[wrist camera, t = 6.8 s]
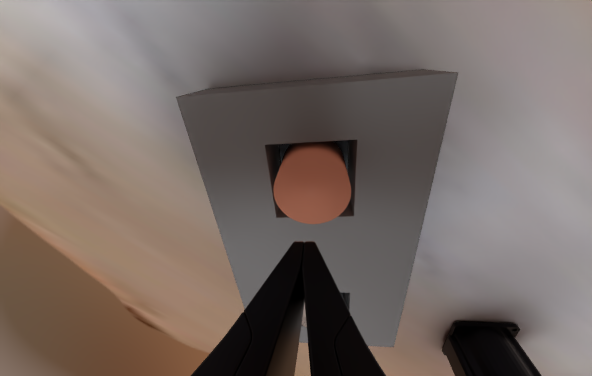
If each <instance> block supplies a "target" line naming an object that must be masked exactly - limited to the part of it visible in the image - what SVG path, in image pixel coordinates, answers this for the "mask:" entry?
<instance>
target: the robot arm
mask: <svg viewBox="0 0 592 376" xmlns="http://www.w3.org/2000/svg"><path fill="white" fill-rule="evenodd" d="M304 303H305V312H306V324H307V336H308V347H309V359H310V370H311V376H386V375H385V374H384V372H383V370H382V369H381V367H380V366H379V364H378V363H377V361H376V359H375V358H374V356H373V354H372V353H371V351H370V349H369V348H368V346H367V344H366V342H365V341H364V339H363V337H362V335H361V333H360V331H359V329H358V327H357V325H356V323H355V321H354V319H353V317H352V316H351V314H350V311H349V309H348V307H347V305H346V303H345V301H344V299H343V297H342V295H341V293H340V291H339V289H338V287H337V285H336V283H335V281H334V279H333V277H332V275H331V273H330V271H329V269H328V267H327V265H326V263H325V261H324V259H323V257H322V255H321V253H320V251H319V248H318V246H317V244H316V243H315V242H314V241H306V242H305V243H304V242H303V241H295V242H293V243H292V245H291V246H290V247H289V249H288V250H287V252H286V253H285V254H284V256H283V257H282V258H281V260H280V261H279V263H278V264H277V265H276V267H275V268H274V270H273V271H272V272H271V274H270V275H269V277H268V278H267V279H266V281H265V282H264V283H263V285H262V286H261V288H260V289H259V290H258V292H257V293H256V295H255V296H254V297H253V299H252V300H251V301H250V303H249V304H248V306H247V307H246V308H245V310H244V312H243V313H242V314H241V315H240V316H239V318H238V319H237V321H236V322H235V323H234V325H233V326H232V327H231V329H230V330H229V331H228V333H227V334H226V335H225V337H224V338H223V339H222V340H221V341H220V342H219V344H218V345H217V346H216V347H215V348H214V350H213V351H212V352H211V353H210V354H209V356H208V357H207V358H206V359H205V360H204V361H203V362H202V363H201V365H200V366H199V367H198V368H197V369H196V370H195V371H194V373H193V374H192V375H191V376H294V373H295V366H296V359H297V352H298V345H299V338H300V331H301V324H302V317H303V310H304ZM519 331H520V328H519V327H518V326H517V324H508V323H481V322H455V323H454V324H453V326H452V328H451V330H450V333H449V335H448V337H447V339H446V342H445V344H444V346H443V349H442V351H443V354H444V355H446V356H447V358H448V360H449V363H450V365H451V367H452V370H453V372H454V374H455V376H541V374H540V373H539V371H538V370H537V368H536V367H535V366H534V364H533V363H532V361H531V360H530V359H529V357H528V356H527V354H526V353H525V351H524V350H523V349H522V347H521V346H520V344H519V343H518V342H517V340H516V339H515V336H516V335H517V334H518V332H519Z"/></svg>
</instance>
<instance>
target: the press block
mask: <svg viewBox="0 0 592 376" xmlns="http://www.w3.org/2000/svg"><path fill="white" fill-rule="evenodd" d="M457 76H458V73H457V72H446V71H435V70H424V69H423V70H412V71H401V72H389V73H378V74H367V75H356V76H345V77H334V78H323V79H312V80H301V81H290V82H278V83H267V84H256V85H245V86H234V87H223V88H212V89H205V90H202V91H198V92H194V93H190V94H186V95H182V96H179V97H176V99H177V102H178V105H179V108H180V111H181V114H182V117H183V120H184V123H185V126H186V129H187V132H188V136H189V139H190V142H191V145H192V148H193V151H194V154H195V157H196V160H197V163H198V166H199V169H200V172H201V176H202V179H203V182H204V185H205V188H206V191H207V194H208V197H209V200H210V203H211V206H212V209H213V213H214V216H215V219H216V222H217V225H218V228H219V231H220V234H221V237H222V240H223V243H224V246H225V250H226V253H227V256H228V259H229V262H230V265H231V268H232V271H233V274H234V277H235V280H236V283H237V287H238V290H239V293H240V296H241V299H242V302H243V305H244V308H246V307H247V306H248V304H249V303H250V301H251V300H252V299H253V297H254V296H255V295H256V293H257V292H258V290H259V289H260V288H261V286H262V285H263V283H264V282H265V281H266V279H267V278H268V277H269V275H270V274H271V272H272V271H273V270H274V268H275V267H276V265H277V264H278V263H279V261H280V260H281V258H282V257H283V256H284V254H285V253H286V252H287V250H288V249H289V247H290V246H291V245H292V243H293V242H295V241H303V242H304V243H305V242H306V241H314V242H315V243H316V244H317V246H318V248H319V251H320V253H321V255H322V257H323V259H324V261H325V263H326V265H327V267H328V269H329V271H330V273H331V275H332V277H333V279H334V281H335V283H336V285H337V287H338V289H339V291H340V292H342V293H343V298H344V301H345V303H346V305H347V307H348V309H349V311H350V314H351V316H352V317H353V319H354V321H355V323H356V325H357V327H358V329H359V331H360V333H361V335H362V337H363V339H364V341H365V342H366V344H367V346H382V347H394V344H395V340H396V335H397V331H398V327H399V323H400V318H401V314H402V310H403V306H404V301H405V297H406V293H407V289H408V284H409V280H410V276H411V272H412V267H413V263H414V259H415V255H416V250H417V246H418V242H419V237H420V233H421V229H422V225H423V220H424V216H425V212H426V208H427V203H428V199H429V195H430V191H431V186H432V182H433V178H434V174H435V169H436V165H437V161H438V157H439V152H440V148H441V144H442V140H443V135H444V131H445V127H446V123H447V118H448V114H449V110H450V106H451V101H452V97H453V93H454V88H455V84H456V80H457ZM340 140H349V142H348V177H349V181H350V185H351V198H350V201H349V203H348V206H347V207H346V209H345V210H344V211H343V212H342V213H341V214H340V215H339V216H338V217H336V218H334V219H333V220H331V221H328V222H325V223H320V224H305V223H301V222H298V221H295V220H293V219H291V218H290V217H288V216H287V215H286V214H284V213H283V212H282V211H281V209H280V208H279V207H278V205H277V203H276V201H275V198H274V192H273V189H274V182H275V179H276V177H277V174H278V171H279V168H280V166H281V160H280V153H279V145H278V144H287V143H305V142H323V141H340ZM299 342H303V343H308V336H307V328H306V327H304V326H303V325H301V331H300V338H299Z"/></svg>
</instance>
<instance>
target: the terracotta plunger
mask: <svg viewBox="0 0 592 376" xmlns="http://www.w3.org/2000/svg"><path fill="white" fill-rule="evenodd" d="M273 192H274V198H275V201H276V203H277V205H278V207H279V208H280V209H281V211H282V212H283V213H284V214H286V215H287V216H288V217H290V218H291V219H293V220H295V221H298V222H301V223H305V224H320V223H325V222H328V221H331V220H333V219H334V218H336V217H338V216H339V215H340V214H341V213H342V212H343V211H344V210H345V209H346V207H347V206H348V203H349V201H350V198H351V185H350V181H349V177H348V173H347V169H346V165H345V161H344V157H343V154H342V152H341V150H340V148H339V147H338V146H337V145H336V143H334V142H333V141H323V142H305V143H292V144H291V145H290V146H289V147H288V149H287V150H286V152H285V155H284V157H283V160H282V163H281V166H280V168H279V171H278V174H277V177H276V179H275V182H274V189H273Z"/></svg>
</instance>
